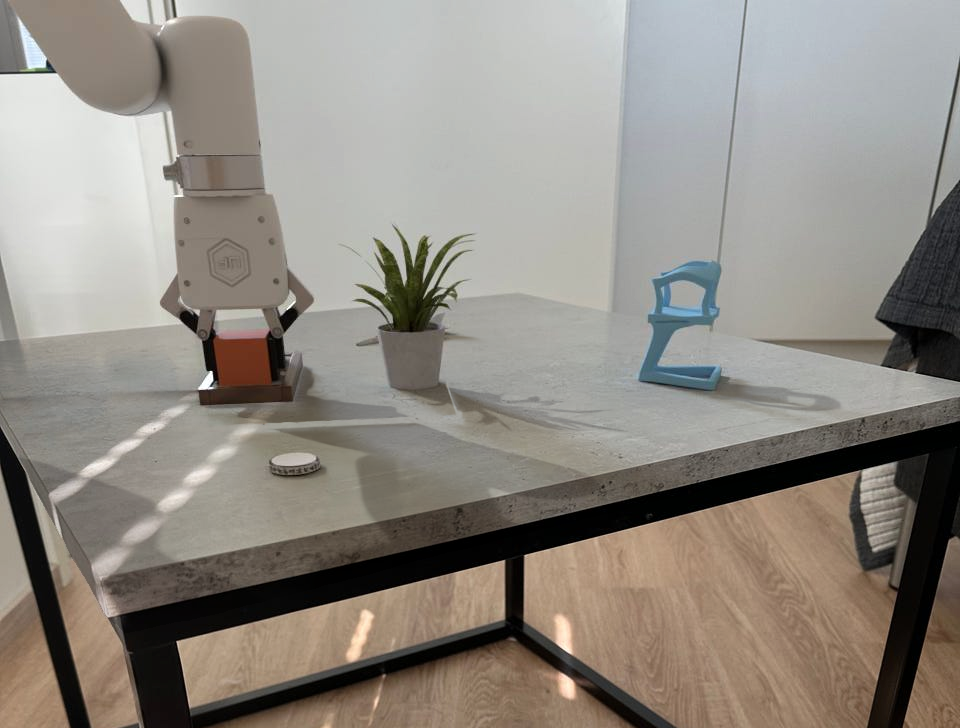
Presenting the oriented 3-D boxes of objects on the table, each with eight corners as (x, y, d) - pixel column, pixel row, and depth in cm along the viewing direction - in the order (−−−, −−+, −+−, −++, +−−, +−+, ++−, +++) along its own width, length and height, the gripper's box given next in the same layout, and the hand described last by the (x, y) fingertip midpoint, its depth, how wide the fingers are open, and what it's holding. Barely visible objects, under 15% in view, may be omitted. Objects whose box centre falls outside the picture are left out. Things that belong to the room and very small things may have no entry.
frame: (200, 410, 90) (197, 389, 89) (223, 373, 105) (221, 355, 104) (293, 406, 91) (291, 385, 90) (303, 370, 106) (301, 352, 105)
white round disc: (321, 472, 72) (320, 464, 72) (269, 476, 71) (268, 468, 71) (318, 457, 75) (318, 450, 75) (269, 461, 75) (268, 453, 74)
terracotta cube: (219, 386, 91) (213, 339, 89) (226, 375, 96) (220, 330, 94) (270, 384, 92) (265, 338, 90) (275, 374, 96) (270, 329, 94)
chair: (646, 370, 103) (654, 254, 98) (722, 374, 101) (734, 256, 95) (632, 385, 97) (640, 263, 91) (713, 390, 94) (726, 265, 89)
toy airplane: (335, 346, 119) (333, 327, 118) (444, 323, 133) (443, 306, 132) (377, 353, 114) (376, 333, 113) (485, 328, 128) (484, 311, 127)
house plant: (516, 381, 100) (516, 215, 92) (452, 410, 89) (447, 225, 81) (404, 369, 106) (396, 212, 98) (332, 395, 95) (316, 221, 87)
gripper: (118, 180, 81) (154, 388, 90) (313, 178, 83) (331, 383, 91) (136, 178, 88) (168, 372, 96) (317, 175, 89) (333, 367, 98)
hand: (247, 375), depth 94 cm, fingers closed on terracotta cube, 5 cm apart
